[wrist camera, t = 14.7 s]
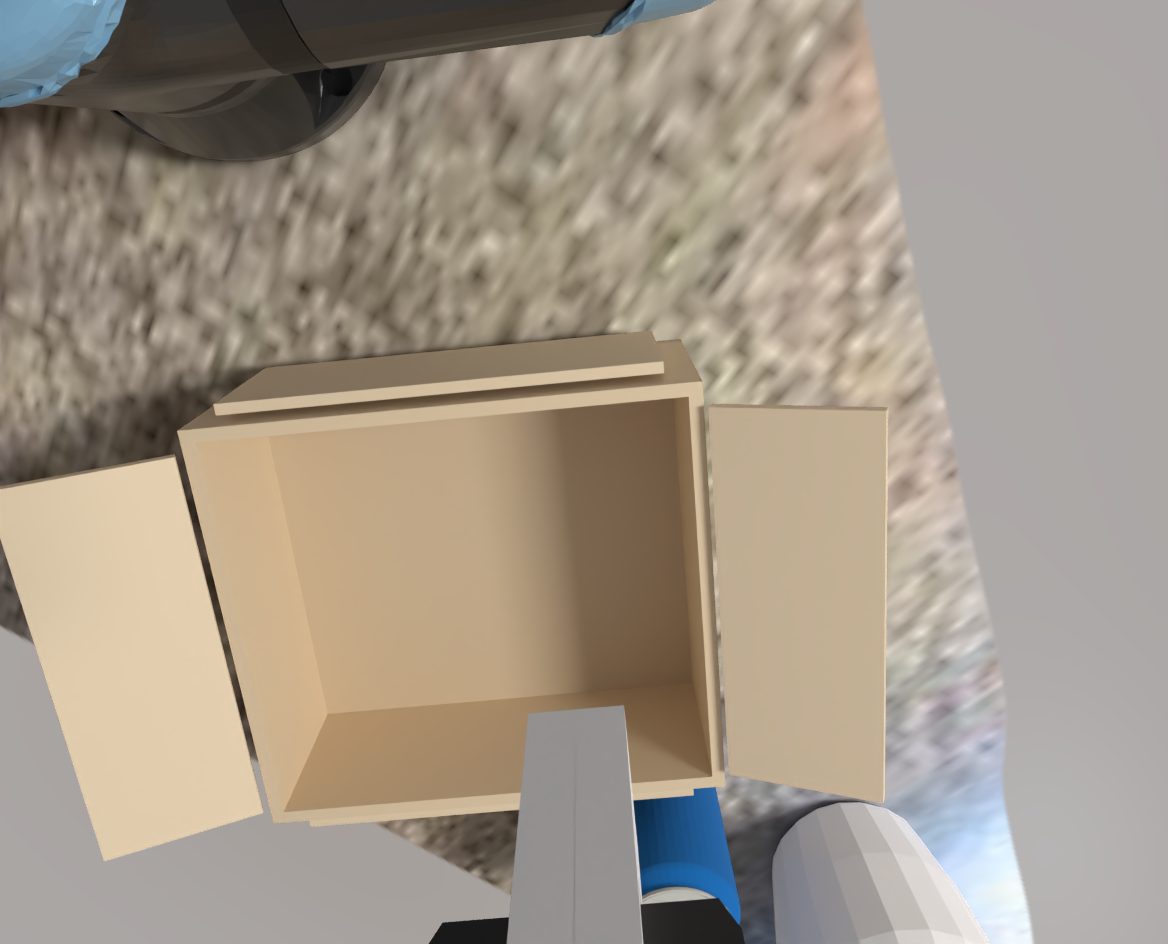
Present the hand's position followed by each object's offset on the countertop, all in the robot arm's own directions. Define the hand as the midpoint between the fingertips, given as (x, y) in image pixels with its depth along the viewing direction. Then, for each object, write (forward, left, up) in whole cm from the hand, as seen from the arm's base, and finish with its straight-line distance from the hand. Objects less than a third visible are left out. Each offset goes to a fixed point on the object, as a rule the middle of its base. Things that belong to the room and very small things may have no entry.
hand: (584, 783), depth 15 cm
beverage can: (+26, +2, -35) cm, 43 cm away
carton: (+10, -6, -34) cm, 36 cm away
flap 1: (+10, -17, -25) cm, 32 cm away
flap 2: (+10, +5, -25) cm, 28 cm away
